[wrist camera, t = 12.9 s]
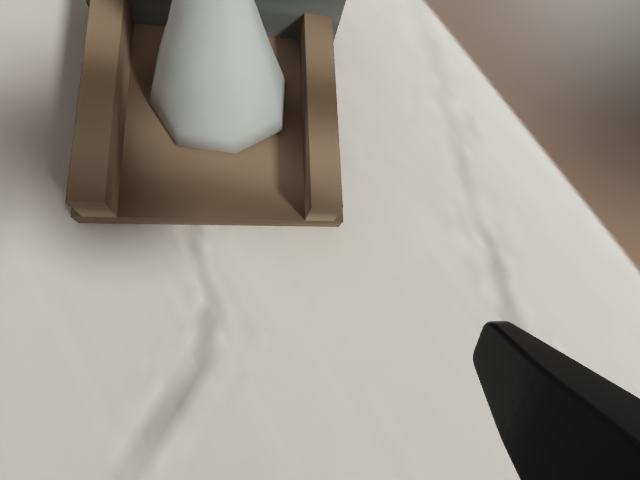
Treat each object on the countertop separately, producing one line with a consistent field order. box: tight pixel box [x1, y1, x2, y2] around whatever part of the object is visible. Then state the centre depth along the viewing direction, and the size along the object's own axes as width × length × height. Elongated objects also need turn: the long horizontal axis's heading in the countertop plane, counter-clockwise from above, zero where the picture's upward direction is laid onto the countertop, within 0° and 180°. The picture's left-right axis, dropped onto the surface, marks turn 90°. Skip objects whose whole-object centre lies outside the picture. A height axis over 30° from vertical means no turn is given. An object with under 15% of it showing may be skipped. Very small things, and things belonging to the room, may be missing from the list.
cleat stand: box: [66, 0, 346, 227], centre depth 20 cm, size 13×13×6 cm
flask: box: [149, 0, 286, 154], centre depth 18 cm, size 7×7×10 cm
